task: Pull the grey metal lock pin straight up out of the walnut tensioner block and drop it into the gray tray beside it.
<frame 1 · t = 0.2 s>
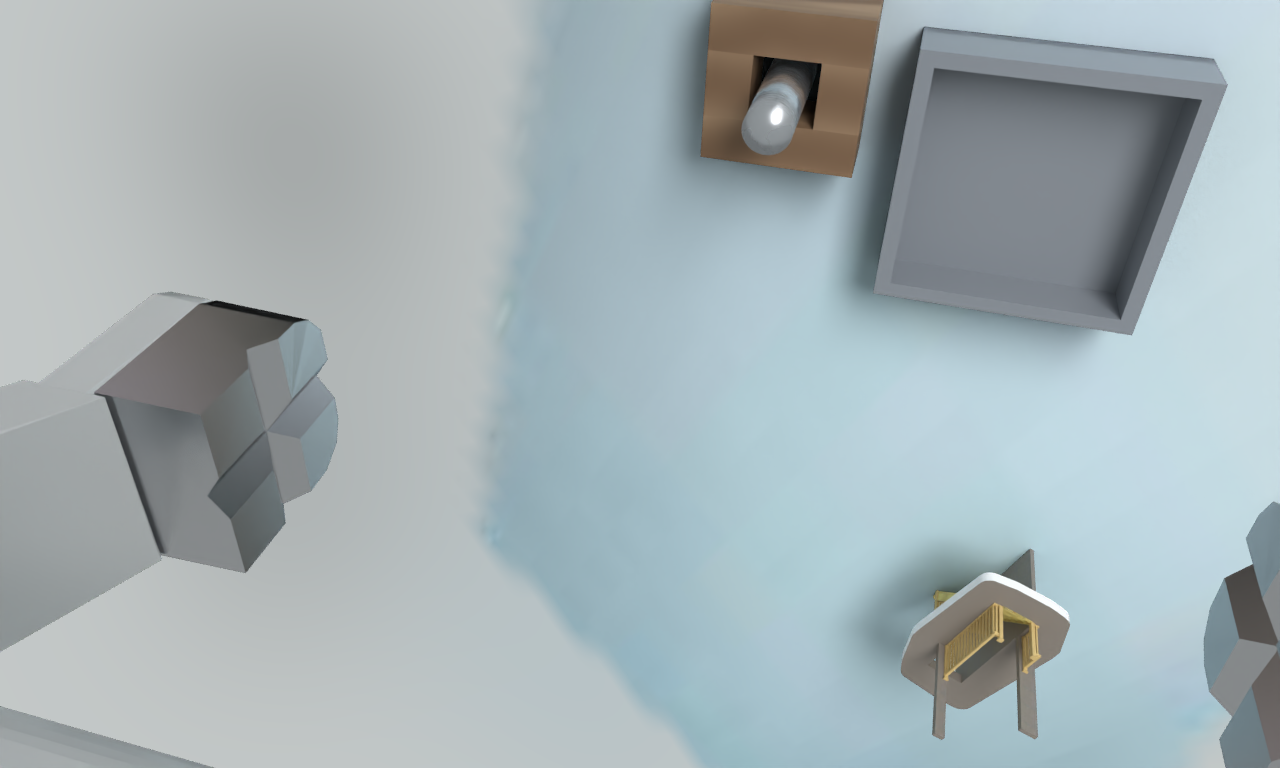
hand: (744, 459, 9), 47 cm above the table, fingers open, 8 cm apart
lock pin: (795, 66, 54), resting in tensioner block
tensioner block: (795, 66, 54), on the table
architectural model: (978, 569, 72), on the table
gray tray: (1029, 170, 54), on the table
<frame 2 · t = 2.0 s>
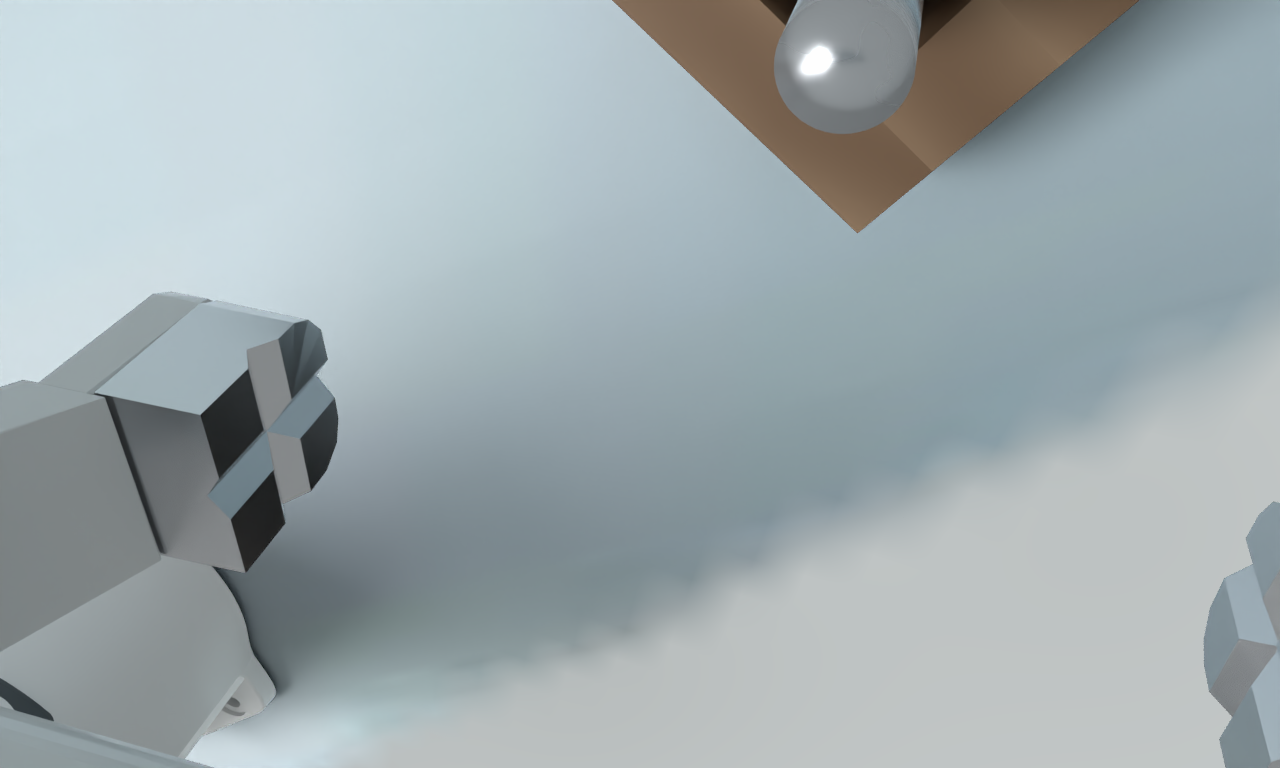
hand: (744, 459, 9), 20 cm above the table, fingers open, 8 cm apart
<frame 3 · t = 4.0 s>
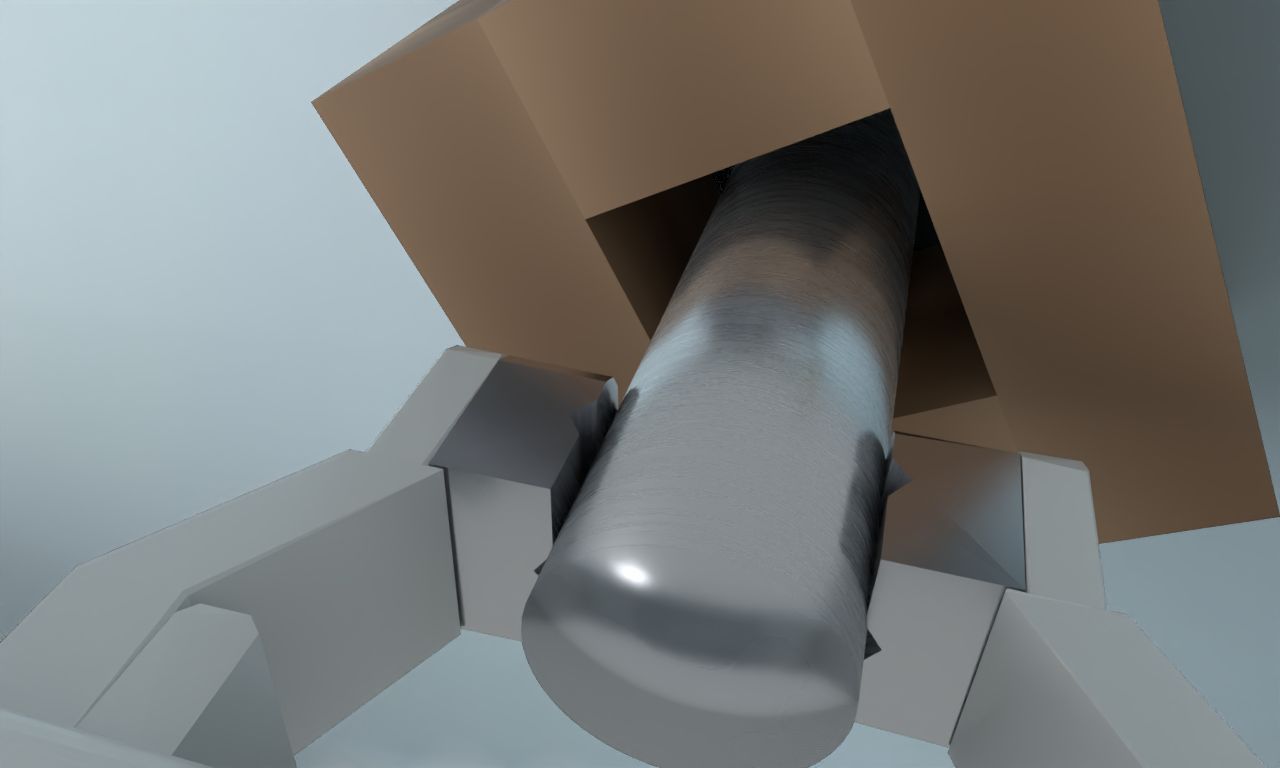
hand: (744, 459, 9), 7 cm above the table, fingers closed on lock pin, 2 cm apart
lock pin: (834, 158, 14), resting in tensioner block, touching gripper
tensioner block: (833, 159, 14), on the table
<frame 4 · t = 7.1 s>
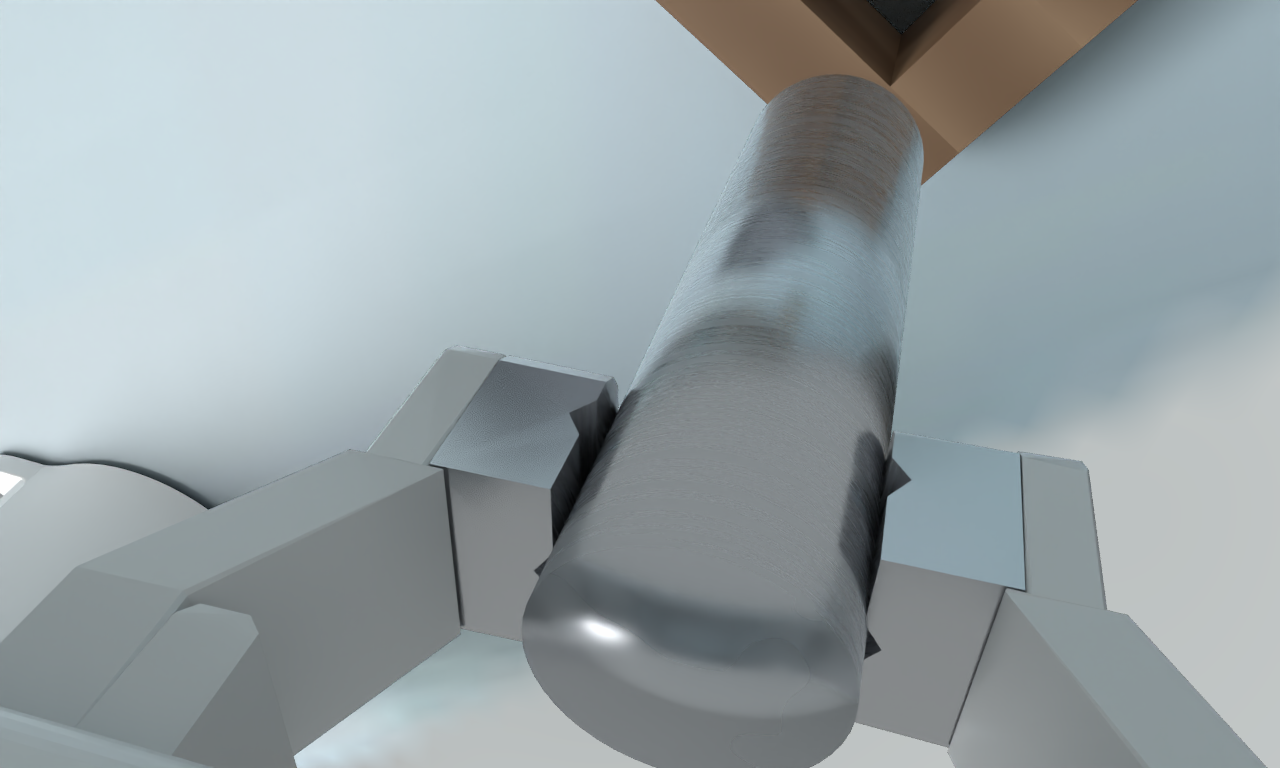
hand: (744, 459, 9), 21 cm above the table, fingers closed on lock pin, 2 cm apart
lock pin: (833, 160, 14), point 14 cm above the table, touching gripper
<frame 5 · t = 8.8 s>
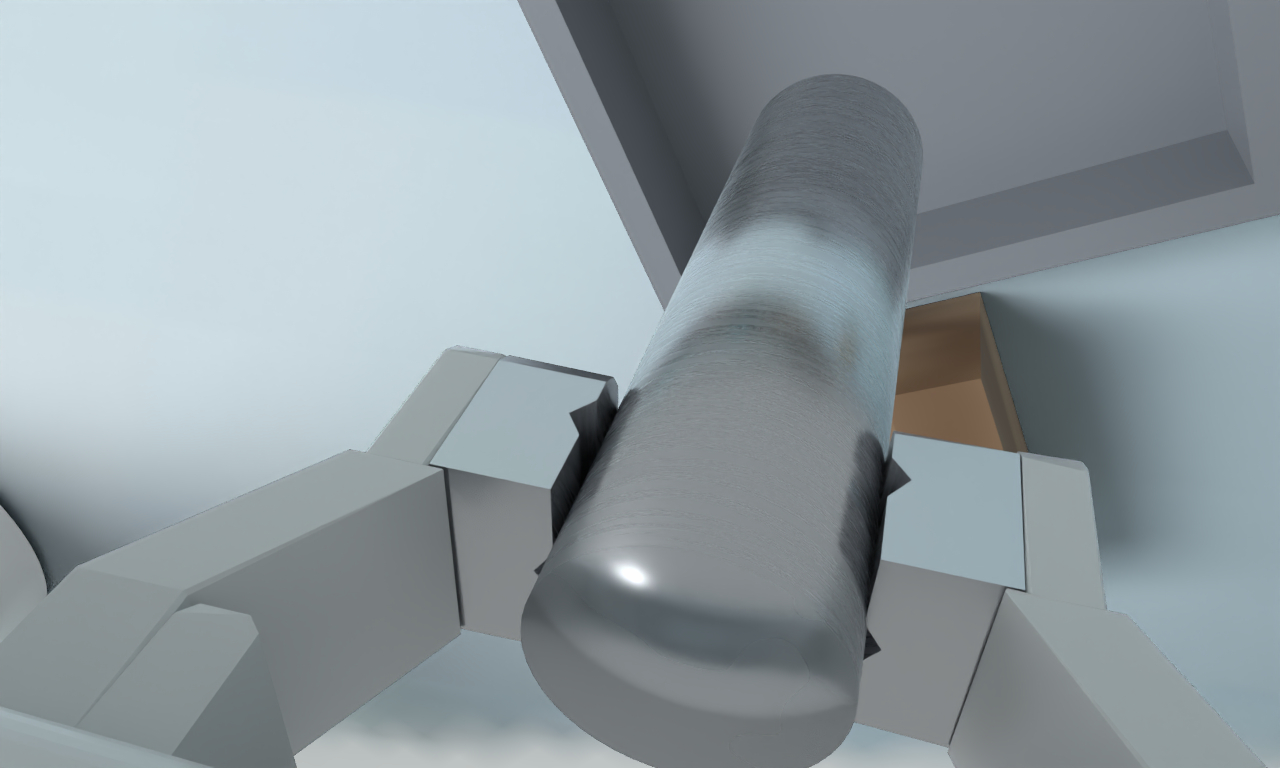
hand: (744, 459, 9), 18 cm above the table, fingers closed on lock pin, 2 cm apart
lock pin: (833, 159, 14), point 11 cm above the table, touching gripper
tensioner block: (876, 436, 30), on the table
when the fingers open (10 cm above the table, at t = 10.3 s): lock pin drops 2 cm, resting on gray tray.
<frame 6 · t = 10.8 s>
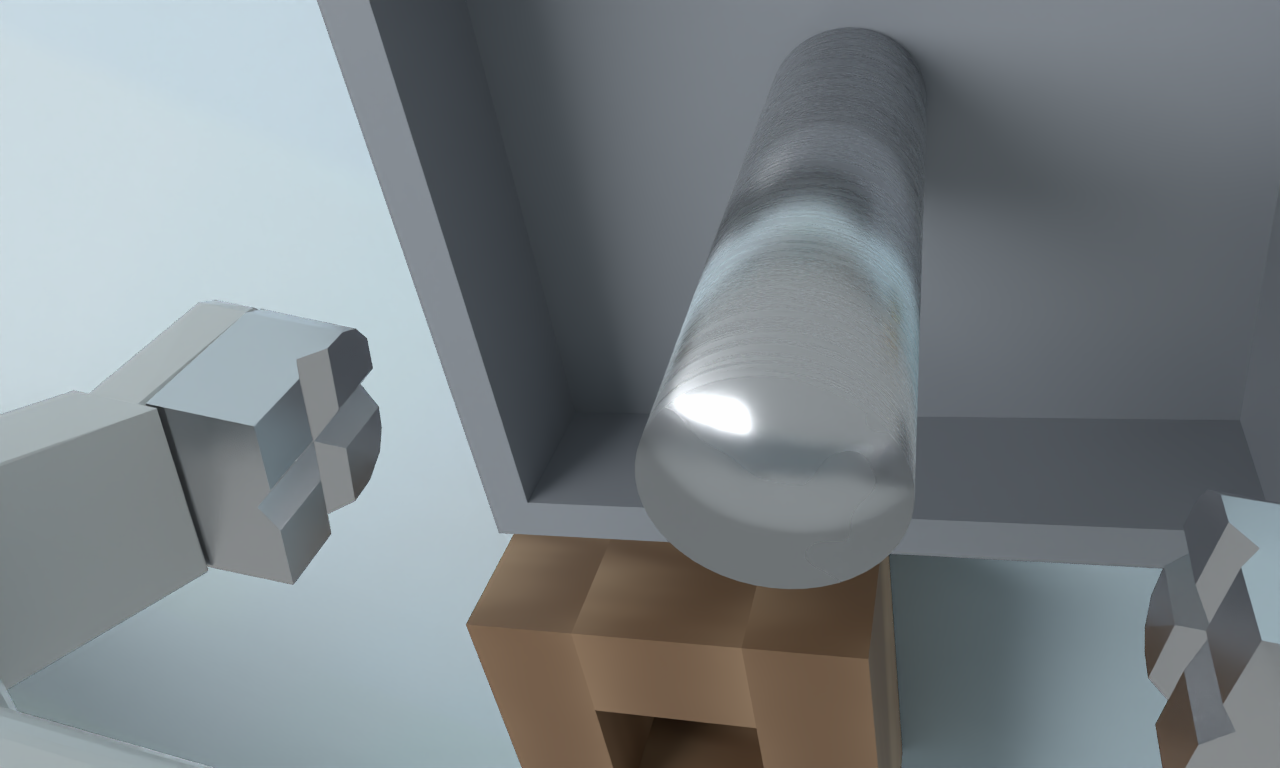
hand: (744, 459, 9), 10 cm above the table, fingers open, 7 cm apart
lock pin: (846, 105, 16), point 1 cm above the table, touching gray tray
tensioner block: (724, 628, 25), on the table
gray tray: (856, 85, 16), on the table
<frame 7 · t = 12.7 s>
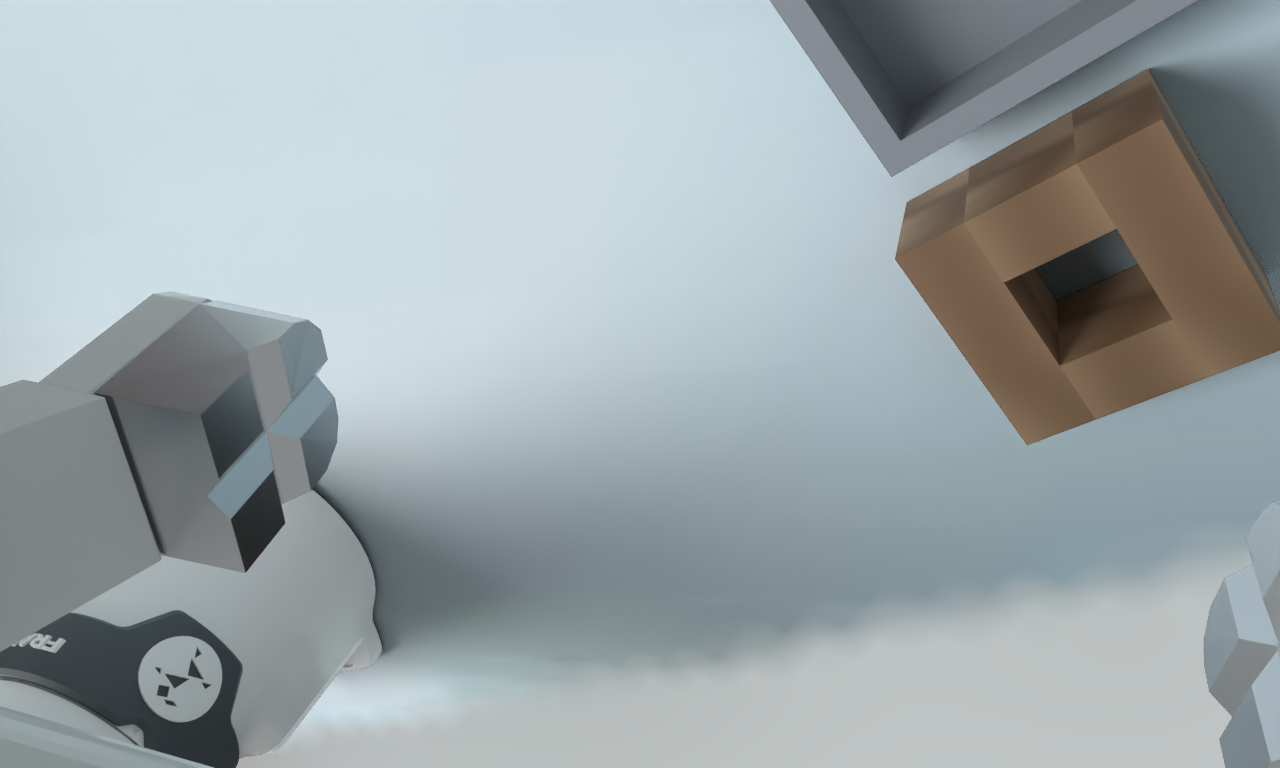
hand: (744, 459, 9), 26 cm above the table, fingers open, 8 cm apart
tensioner block: (1081, 238, 33), on the table
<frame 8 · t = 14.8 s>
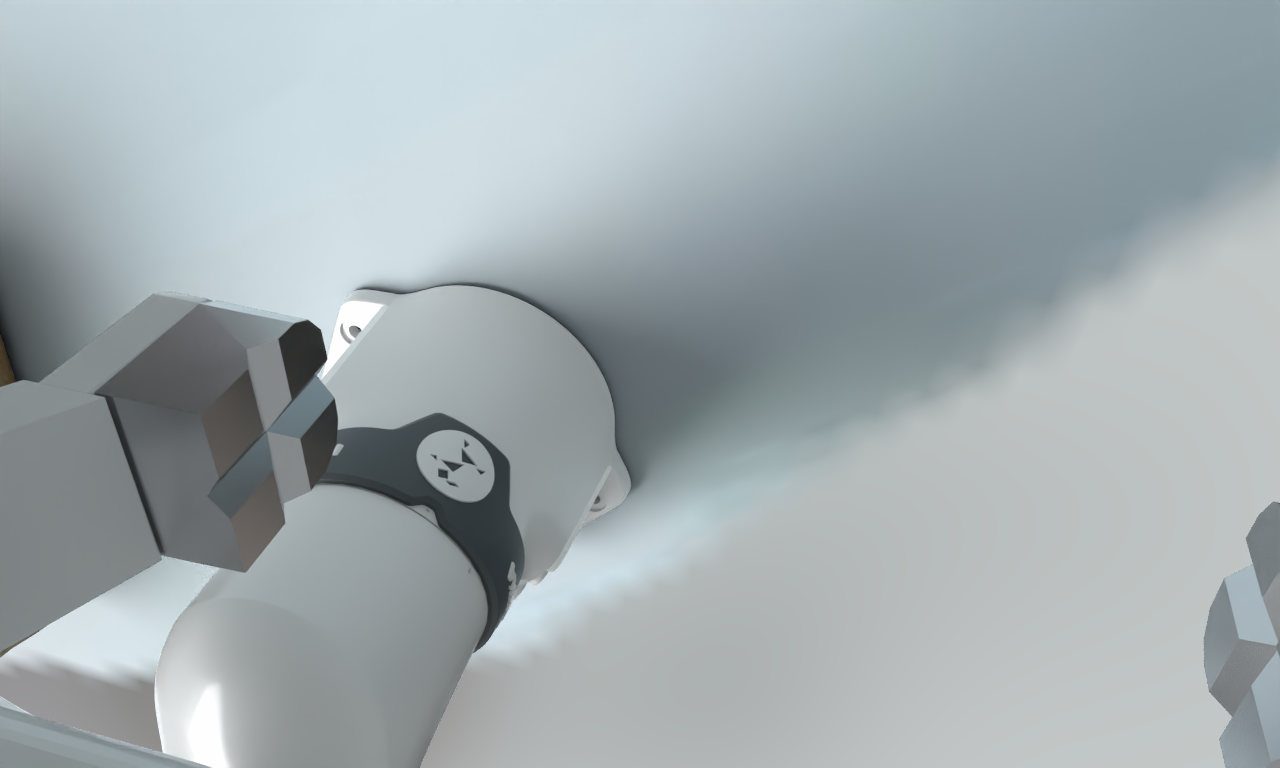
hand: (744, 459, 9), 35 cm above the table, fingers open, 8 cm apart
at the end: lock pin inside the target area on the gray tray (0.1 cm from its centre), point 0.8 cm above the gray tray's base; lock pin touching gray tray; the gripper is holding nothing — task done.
